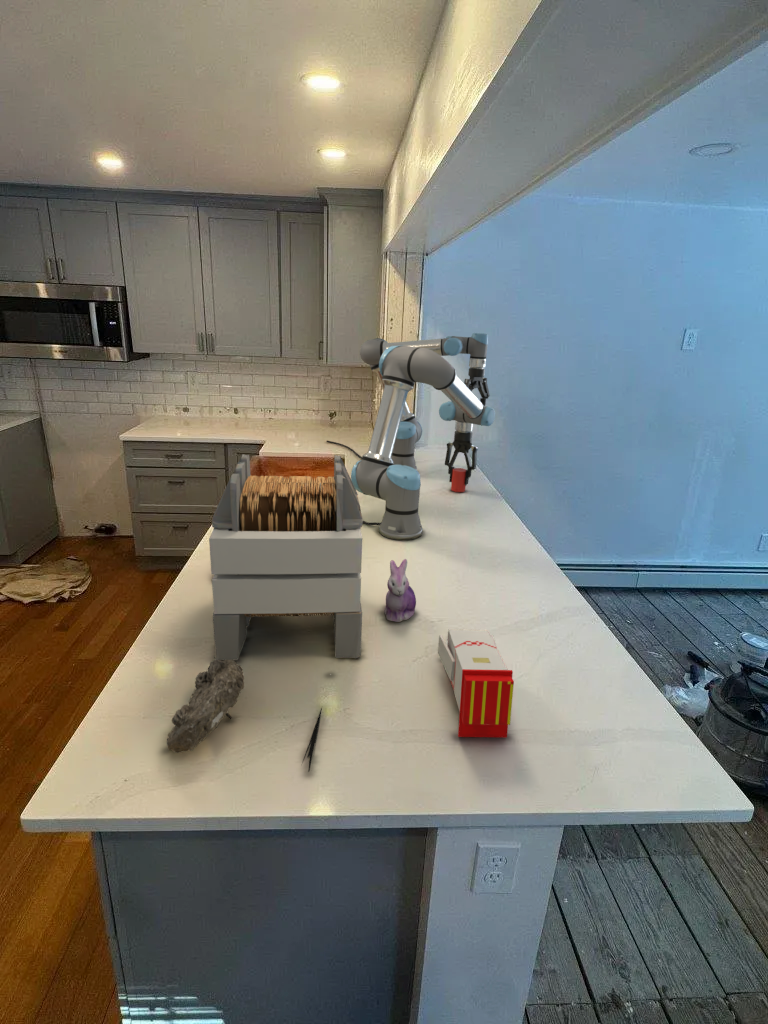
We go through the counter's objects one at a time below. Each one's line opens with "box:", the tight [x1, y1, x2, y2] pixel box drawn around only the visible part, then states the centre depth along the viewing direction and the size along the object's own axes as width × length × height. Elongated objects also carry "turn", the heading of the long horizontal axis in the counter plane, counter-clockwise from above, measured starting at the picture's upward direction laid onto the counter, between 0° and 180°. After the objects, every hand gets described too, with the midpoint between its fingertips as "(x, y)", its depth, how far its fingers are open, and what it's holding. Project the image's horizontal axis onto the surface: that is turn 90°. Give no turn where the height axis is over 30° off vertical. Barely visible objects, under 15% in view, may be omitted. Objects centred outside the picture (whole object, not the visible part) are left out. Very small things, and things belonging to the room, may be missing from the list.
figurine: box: [384, 558, 417, 623], centre depth 145 cm, size 9×10×15 cm
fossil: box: [166, 659, 245, 754], centre depth 106 cm, size 22×10×15 cm
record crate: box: [208, 453, 364, 661], centre depth 135 cm, size 34×33×41 cm
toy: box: [437, 628, 515, 738], centre depth 117 cm, size 12×13×30 cm
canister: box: [450, 467, 467, 493], centre depth 249 cm, size 6×6×9 cm
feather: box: [301, 673, 332, 771], centre depth 108 cm, size 2×28×2 cm
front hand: (458, 482), depth 250 cm, fingers closed on canister, 6 cm apart
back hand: (472, 413), depth 272 cm, fingers open, 13 cm apart
